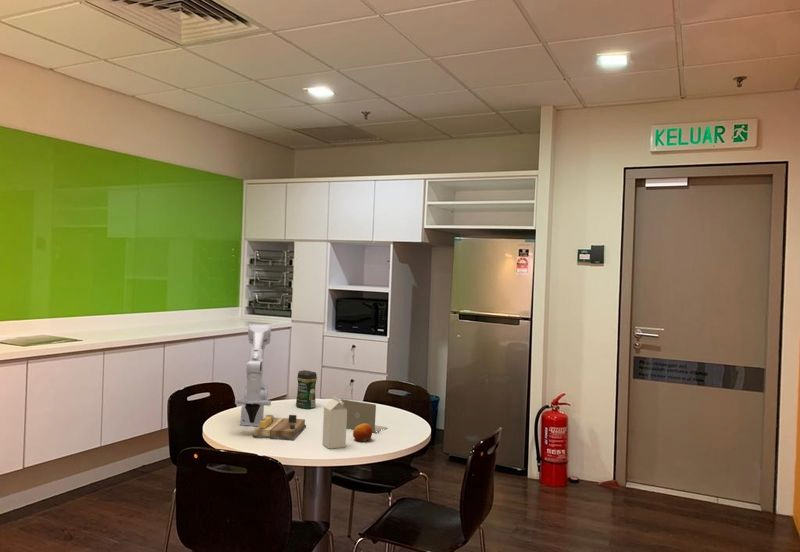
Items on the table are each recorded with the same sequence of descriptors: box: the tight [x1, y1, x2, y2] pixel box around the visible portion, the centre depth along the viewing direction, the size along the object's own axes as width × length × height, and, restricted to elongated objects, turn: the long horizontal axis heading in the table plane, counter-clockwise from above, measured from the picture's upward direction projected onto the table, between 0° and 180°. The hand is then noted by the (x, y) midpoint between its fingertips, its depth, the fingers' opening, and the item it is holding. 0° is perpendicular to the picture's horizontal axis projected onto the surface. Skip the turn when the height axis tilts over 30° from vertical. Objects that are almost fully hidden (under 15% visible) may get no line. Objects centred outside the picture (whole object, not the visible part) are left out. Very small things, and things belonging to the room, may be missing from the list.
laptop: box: [340, 398, 388, 434], centre depth 263 cm, size 18×12×13 cm
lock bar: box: [259, 414, 274, 428], centre depth 247 cm, size 13×3×2 cm, turn 178°
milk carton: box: [321, 395, 347, 450], centre depth 233 cm, size 7×7×19 cm
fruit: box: [352, 423, 373, 443], centre depth 243 cm, size 8×8×8 cm
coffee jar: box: [295, 369, 318, 410], centre depth 299 cm, size 10×8×19 cm
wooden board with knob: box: [252, 414, 307, 441], centre depth 249 cm, size 17×22×6 cm
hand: (252, 422), depth 244 cm, fingers closed
